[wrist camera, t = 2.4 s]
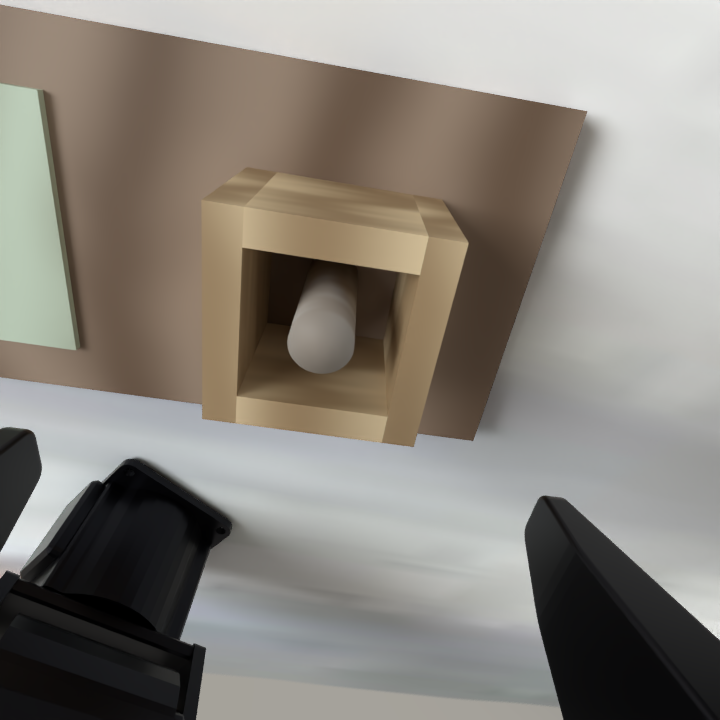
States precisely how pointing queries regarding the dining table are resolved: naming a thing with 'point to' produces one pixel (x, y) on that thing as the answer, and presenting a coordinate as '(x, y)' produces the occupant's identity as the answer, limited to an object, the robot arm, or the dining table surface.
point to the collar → (269, 341)
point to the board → (214, 168)
